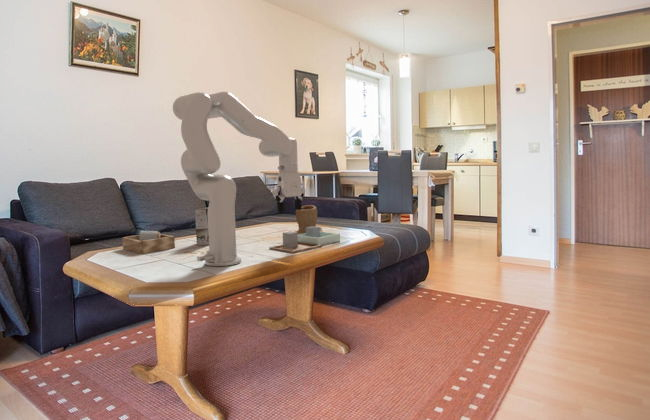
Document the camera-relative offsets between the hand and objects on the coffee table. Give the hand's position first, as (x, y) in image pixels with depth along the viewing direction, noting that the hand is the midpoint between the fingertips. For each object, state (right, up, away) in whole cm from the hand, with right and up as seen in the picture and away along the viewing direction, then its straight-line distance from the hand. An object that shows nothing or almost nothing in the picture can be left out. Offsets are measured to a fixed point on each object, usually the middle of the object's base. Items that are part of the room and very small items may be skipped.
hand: (289, 210), depth 180 cm
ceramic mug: (-62, -16, +12) cm, 65 cm away
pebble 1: (0, -15, +1) cm, 15 cm away
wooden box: (-62, -16, +9) cm, 64 cm away
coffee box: (-39, -15, +18) cm, 46 cm away
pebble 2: (+9, -13, +14) cm, 21 cm away
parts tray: (+3, -16, -1) cm, 16 cm away
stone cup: (+7, -13, +33) cm, 36 cm away
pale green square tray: (+11, -14, +12) cm, 22 cm away
